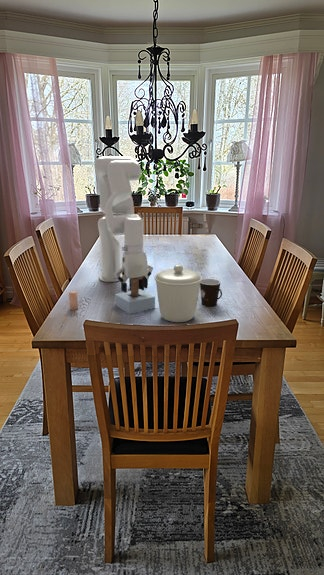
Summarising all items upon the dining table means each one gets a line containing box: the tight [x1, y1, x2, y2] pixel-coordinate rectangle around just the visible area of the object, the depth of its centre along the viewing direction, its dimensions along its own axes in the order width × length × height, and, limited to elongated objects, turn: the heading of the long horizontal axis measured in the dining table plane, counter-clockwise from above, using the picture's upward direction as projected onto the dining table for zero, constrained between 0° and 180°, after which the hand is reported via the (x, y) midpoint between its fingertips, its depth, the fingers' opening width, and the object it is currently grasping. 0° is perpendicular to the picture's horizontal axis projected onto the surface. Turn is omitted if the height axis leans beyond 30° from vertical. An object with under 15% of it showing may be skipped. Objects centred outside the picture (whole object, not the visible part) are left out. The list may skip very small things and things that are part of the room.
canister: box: [154, 264, 203, 323], centre depth 151 cm, size 18×18×21 cm
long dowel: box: [131, 277, 139, 298], centre depth 163 cm, size 3×3×13 cm
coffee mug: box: [199, 278, 223, 308], centre depth 165 cm, size 12×9×10 cm
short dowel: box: [68, 290, 79, 311], centre depth 162 cm, size 3×3×7 cm
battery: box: [128, 276, 145, 291], centre depth 185 cm, size 4×7×10 cm, turn 95°
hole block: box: [114, 289, 156, 315], centre depth 164 cm, size 12×12×5 cm
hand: (134, 289), depth 163 cm, fingers open, 9 cm apart
